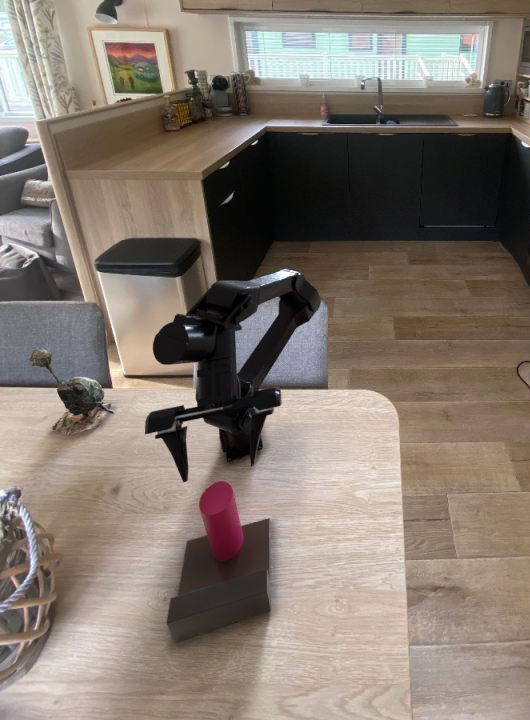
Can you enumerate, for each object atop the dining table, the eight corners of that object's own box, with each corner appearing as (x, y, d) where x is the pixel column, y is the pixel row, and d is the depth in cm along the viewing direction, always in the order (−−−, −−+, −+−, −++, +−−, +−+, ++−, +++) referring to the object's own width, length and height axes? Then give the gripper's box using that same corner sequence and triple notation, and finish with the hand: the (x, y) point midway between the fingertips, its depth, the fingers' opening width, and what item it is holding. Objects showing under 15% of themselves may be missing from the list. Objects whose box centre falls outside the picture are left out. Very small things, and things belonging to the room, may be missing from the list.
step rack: (189, 548, 59) (183, 528, 57) (270, 525, 62) (267, 505, 60) (174, 643, 50) (166, 623, 48) (271, 610, 53) (267, 591, 51)
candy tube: (224, 522, 60) (213, 476, 56) (249, 531, 59) (239, 486, 55) (205, 555, 57) (191, 509, 52) (231, 566, 55) (219, 519, 51)
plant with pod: (91, 445, 74) (58, 365, 66) (46, 431, 77) (9, 352, 69) (127, 409, 81) (101, 333, 73) (85, 397, 84) (55, 323, 76)
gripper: (279, 353, 72) (286, 448, 66) (168, 372, 67) (166, 476, 62) (276, 349, 62) (284, 461, 56) (145, 372, 57) (140, 496, 52)
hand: (219, 473), depth 57 cm, fingers open, 9 cm apart
